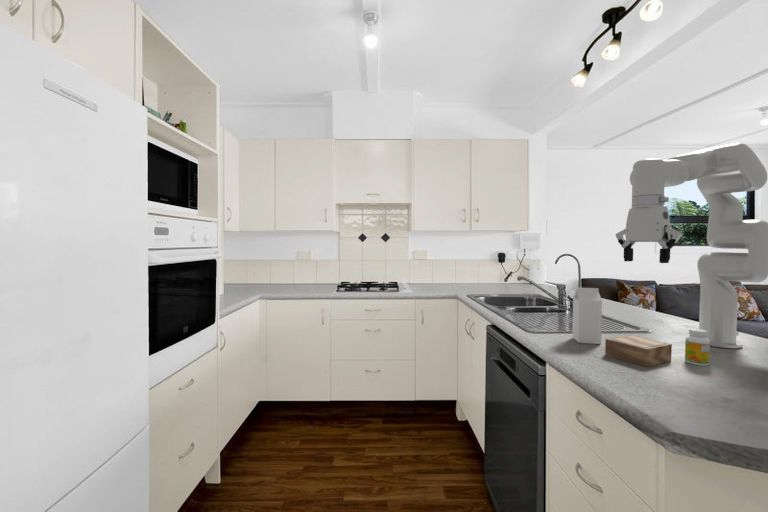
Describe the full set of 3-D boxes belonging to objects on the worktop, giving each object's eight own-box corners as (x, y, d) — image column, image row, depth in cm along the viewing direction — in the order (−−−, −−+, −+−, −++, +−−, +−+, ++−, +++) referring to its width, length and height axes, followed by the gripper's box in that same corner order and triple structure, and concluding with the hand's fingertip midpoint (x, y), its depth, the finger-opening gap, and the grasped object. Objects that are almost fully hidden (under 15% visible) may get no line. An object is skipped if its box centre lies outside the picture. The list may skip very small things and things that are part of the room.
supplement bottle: (679, 360, 108) (680, 327, 107) (696, 359, 108) (697, 327, 108) (696, 366, 102) (698, 332, 102) (714, 365, 103) (715, 332, 102)
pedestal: (629, 350, 118) (629, 334, 118) (671, 361, 107) (671, 344, 107) (605, 354, 113) (605, 338, 113) (646, 366, 102) (647, 349, 102)
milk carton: (601, 344, 124) (602, 289, 123) (578, 343, 126) (579, 289, 125) (593, 339, 131) (594, 287, 130) (572, 338, 133) (573, 286, 132)
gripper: (690, 200, 98) (687, 263, 99) (625, 206, 114) (623, 260, 114) (673, 199, 95) (671, 264, 96) (609, 205, 111) (608, 260, 111)
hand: (645, 262), depth 105 cm, fingers open, 9 cm apart
